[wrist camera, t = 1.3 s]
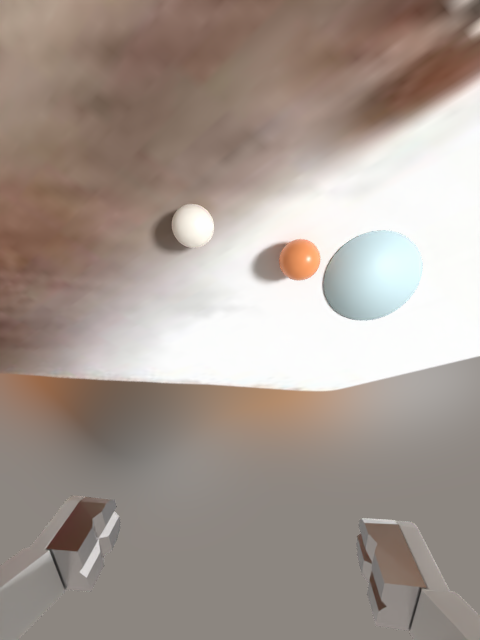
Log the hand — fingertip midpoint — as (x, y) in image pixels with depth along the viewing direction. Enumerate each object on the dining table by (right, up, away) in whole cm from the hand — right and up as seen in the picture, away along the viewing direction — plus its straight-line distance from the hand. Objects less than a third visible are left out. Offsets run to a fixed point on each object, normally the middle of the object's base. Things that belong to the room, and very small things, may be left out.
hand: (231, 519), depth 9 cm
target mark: (+20, +13, +31) cm, 39 cm away
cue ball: (-6, +19, +26) cm, 33 cm away
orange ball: (+8, +15, +28) cm, 32 cm away
